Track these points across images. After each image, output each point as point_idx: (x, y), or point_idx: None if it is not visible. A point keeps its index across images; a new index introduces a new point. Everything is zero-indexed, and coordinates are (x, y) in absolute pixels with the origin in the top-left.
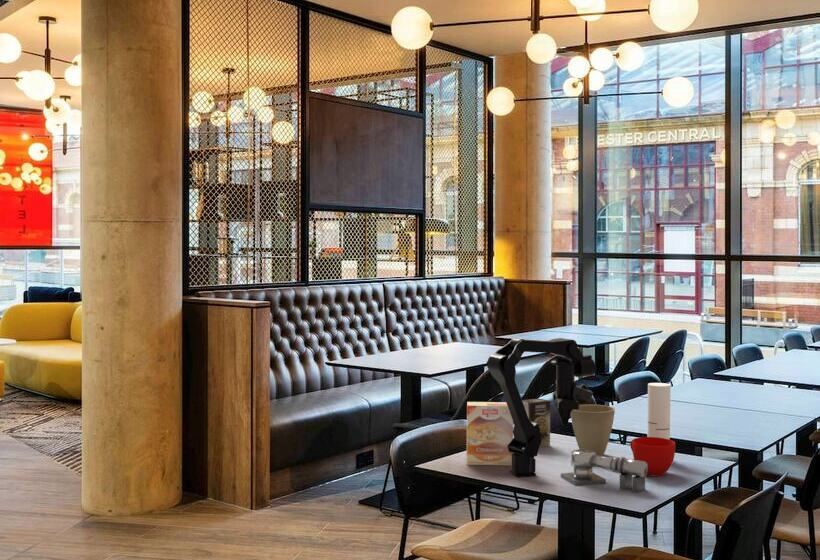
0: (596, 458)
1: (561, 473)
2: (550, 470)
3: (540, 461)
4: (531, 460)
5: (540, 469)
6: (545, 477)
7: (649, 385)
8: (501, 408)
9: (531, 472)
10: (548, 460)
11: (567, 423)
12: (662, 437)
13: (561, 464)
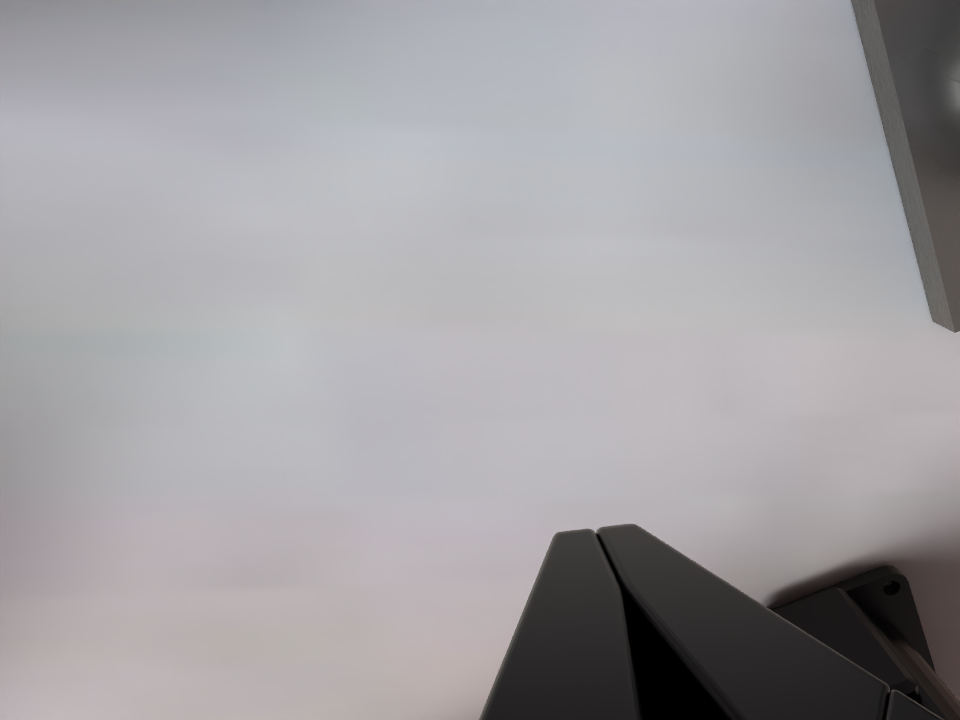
0: None
1: (957, 324)
2: (655, 431)
3: (254, 543)
4: (952, 716)
5: None
6: (949, 474)
7: None
8: None
9: (875, 620)
10: (180, 461)
11: (704, 577)
12: None
13: (348, 311)
